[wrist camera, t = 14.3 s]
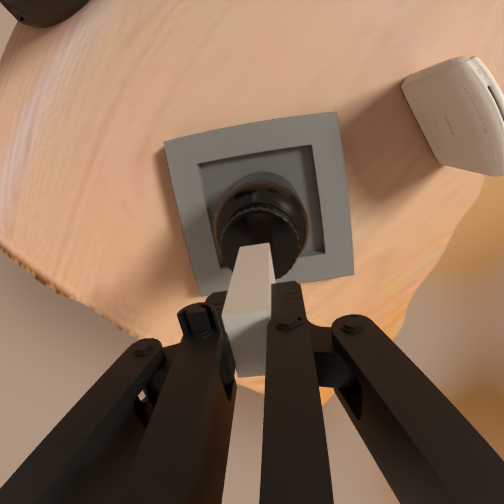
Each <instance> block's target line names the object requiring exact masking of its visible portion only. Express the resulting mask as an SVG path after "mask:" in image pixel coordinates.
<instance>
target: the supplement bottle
mask: <svg viewBox="0 0 504 504" xmlns="http://www.w3.org/2000/svg"><path fill="white" fill-rule="evenodd" d="M214 236H215V241H216V244H217V246H218V248H219V250H220V252H221V255H222V256H223V258H224V262H225V263H226V264H227V267H228V268H229V269H230V270H231V271H232V273H233V270H234V267H235V263H236V259H237V256H238V252H239V248H240V247H243V246H250V245H257V244H263V243H269V245H270V251H271V257H272V263H273V269H274V275H275V280H276V279H280V278H282V276H283V275H286V274H287V273H288V271H289V270H291V269H292V267H293V265H294V264H295V263H296V260H297V259H298V258H299V257H300V255H301V254H302V252H303V251H304V249H305V247H306V244H307V241H308V237H309V221H308V216H307V213H306V210H305V208H304V206H303V204H302V202H301V200H300V198H299V196H298V194H297V192H296V190H295V189H294V187H293V186H292V185H291V183H290V182H289V181H288V180H286V179H285V178H284V177H282V176H280V175H278V174H276V173H272V172H266V171H260V172H254V173H251V174H248V175H246V176H245V177H243V178H241V179H240V180H239V181H238V182H237V183H236V184H235V185H234V186H233V188H232V189H231V190H230V192H229V193H228V194H227V196H226V197H225V198H224V200H223V201H222V203H221V204H220V206H219V208H218V210H217V213H216V216H215V220H214Z"/></svg>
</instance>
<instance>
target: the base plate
mask: <svg viewBox="0 0 504 504" xmlns="http://www.w3.org/2000/svg"><path fill="white" fill-rule="evenodd" d="M164 147H165V152H166V157H167V162H168V167H169V172H170V176H171V181H172V185H173V190H174V194H175V199H176V203H177V207H178V212H179V216H180V220H181V224H182V229H183V233H184V237H185V241H186V245H187V249H188V253H189V257H190V261H191V264H192V268H193V272H194V276H195V280H196V283H197V287H198V291H199V294H200V296H208V295H211V294H212V293H213V292H220V291H228V289H229V285H230V282H231V278H232V274H233V273H232V271H231V270H230V269H229V268H228V267H227V264H226V263H225V262H224V258H223V256H222V255H221V252H220V250H219V248H218V246H217V244H216V241H215V236H214V220H215V216H216V213H217V210H218V208H219V206H220V204H221V203H222V201H223V200H224V198H225V197H226V196H227V194H228V193H229V192H230V190H231V189H232V188H233V186H234V185H235V184H236V183H237V182H238V181H239V180H240V179H241V178H243V177H245V176H246V175H248V174H251V173H254V172H260V171H266V172H272V173H276V174H278V175H280V176H282V177H284V178H285V179H286V180H288V181H289V182H290V183H291V185H292V186H293V187H294V189H295V190H296V192H297V194H298V196H299V198H300V200H301V202H302V204H303V206H304V208H305V210H306V213H307V216H308V221H309V237H308V241H307V244H306V247H305V249H304V251H303V252H302V254H301V255H300V257H299V258H298V259H297V260H296V263H295V264H294V265H293V267H292V269H291V270H289V271H288V273H287V274H286V275H283V276H282V278H280V279H276V280H275V281H276V283H281V282H288V281H296V282H297V283H298V284H299V283H306V282H312V281H319V280H325V279H332V278H338V277H345V276H351V275H354V259H353V244H352V230H351V218H350V207H349V198H348V188H347V179H346V171H345V163H344V156H343V149H342V142H341V135H340V129H339V122H338V116H337V112H327V113H318V114H309V115H301V116H293V117H286V118H279V119H272V120H266V121H260V122H254V123H248V124H242V125H237V126H232V127H226V128H221V129H217V130H212V131H207V132H203V133H198V134H194V135H189V136H185V137H181V138H177V139H173V140H169V141H165V142H164Z"/></svg>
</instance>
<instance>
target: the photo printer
mask: <svg viewBox="0 0 504 504" xmlns="http://www.w3.org/2000/svg"><path fill="white" fill-rule="evenodd" d="M401 88H402V91H403V93H404V96H405V98H406V100H407V102H408V104H409V106H410V108H411V110H412V112H413V114H414V116H415V118H416V120H417V122H418V124H419V125H420V127H421V129H422V132H423V133H424V135H425V137H426V139H427V141H428V143H429V145H430V147H431V149H432V151H433V154H434V155H435V157H436V159H437V160H438V162H439V163H440V164H442V165H446V166H450V167H455V168H459V169H463V170H468V171H472V172H476V173H480V174H484V175H488V176H504V95H503V93H502V91H501V89H500V87H499V86H498V84H497V82H496V81H495V79H494V77H493V76H492V74H491V73H490V71H489V70H488V69H487V67H486V66H485V65H484V64H483V63H482V61H481V60H480V59H479V58H478V57H477V56H474V57H470V58H468V57H456V58H452V59H449V60H446V61H444V62H441V63H439V64H436V65H433V66H431V67H428V68H426V69H423V70H421V71H418V72H416V73H414V74H411V75H409V76H408V77H406V78H405V80H404V82H403V84H402V85H401Z"/></svg>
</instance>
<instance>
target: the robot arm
mask: <svg viewBox="0 0 504 504" xmlns="http://www.w3.org/2000/svg"><path fill="white" fill-rule="evenodd" d="M88 1H89V0H0V3H2V5H3V6H4V7H5V8H6V9H7V10H8V11H9V12H10V13H11V14H12V15H13V16H14V17H15V18H16V19H17V20H18V21H19V22H21V23H22V24H25V25H28V26H31V27H35V28H45V27H49V26H52V25H55V24H57V23H59V22H61V21H63V20H65V19H67V18H68V17H70V16H71V15H72V14H74V13H75V12H76V11H78V10H79V9H80V8H81V7H82V6H84V5H85V4H86V3H87V2H88ZM177 317H178V320H179V323H180V326H181V329H182V332H183V337H182V340H181V342H180V343H178V344H175V345H171V346H167V347H162V344H161V342H160V341H159V340H157V339H154V338H146V339H141V340H139V341H137V342H135V343H133V344H132V345H131V346H130V347H129V348H127V350H126V351H125V352H124V353H123V354H122V355H121V356H120V357H119V358H118V359H117V360H116V361H115V362H114V363H113V364H112V366H111V367H110V368H109V369H108V370H107V371H106V372H105V373H104V374H103V375H102V376H101V377H100V378H99V379H98V381H97V382H96V383H95V384H94V385H93V386H92V387H91V388H90V389H89V390H88V391H87V392H86V393H85V394H84V396H83V397H82V398H81V399H80V400H79V401H78V402H77V403H76V404H75V406H74V407H73V408H72V409H71V410H70V411H69V412H68V413H67V414H66V415H65V417H63V418H62V420H61V421H60V422H59V423H58V424H57V425H56V426H55V427H54V428H53V430H52V431H51V432H50V433H49V434H48V435H47V436H46V438H44V440H43V441H42V442H41V443H40V444H39V445H38V446H37V447H36V449H35V450H34V451H33V452H32V453H31V454H30V455H29V456H28V458H27V459H26V460H25V461H24V462H23V463H22V465H20V467H19V468H18V469H17V470H16V471H15V472H14V473H13V475H12V476H11V477H10V478H9V479H8V481H7V482H6V483H5V484H4V485H3V486H2V487H1V489H0V504H221V503H222V495H223V488H224V480H225V473H226V465H227V457H228V450H229V443H230V436H231V428H232V420H233V413H234V405H235V398H236V390H237V385H236V381H235V377H234V374H235V368H236V371H237V375H238V378H239V377H251V376H262V375H265V398H264V422H263V443H262V465H261V484H260V500H259V504H334V501H333V491H332V483H331V474H330V466H329V458H328V450H327V442H326V434H325V427H324V419H323V412H322V405H321V399H320V392H319V386H320V387H331V388H334V391H335V394H336V395H337V397H338V399H339V400H340V402H341V404H342V405H343V407H344V409H345V410H346V412H347V414H348V416H349V417H350V419H351V421H352V422H353V424H354V426H355V428H356V429H357V431H358V433H359V434H360V436H361V438H362V439H363V441H364V443H365V445H366V446H367V448H368V450H369V451H370V453H371V455H372V456H373V458H374V460H375V462H376V463H377V465H378V466H379V468H380V470H381V472H382V473H383V475H384V477H385V478H386V480H387V482H388V484H389V485H390V487H391V489H392V490H393V492H394V494H395V496H396V497H397V499H398V501H399V502H400V504H504V461H503V460H502V459H501V458H500V457H499V455H498V454H497V453H496V452H495V451H494V449H493V448H492V447H491V446H490V445H489V444H488V443H487V442H486V440H485V439H484V438H483V437H482V436H481V435H480V434H479V433H478V431H477V430H476V429H475V428H474V427H473V426H472V425H471V424H470V423H469V422H468V421H467V419H466V418H465V417H464V416H463V415H462V414H461V413H460V412H459V411H458V410H457V409H456V407H455V406H454V405H453V404H452V403H451V402H450V401H449V400H448V399H447V398H446V397H445V396H444V394H442V392H441V391H440V390H439V389H438V388H437V387H436V386H435V385H434V384H433V383H432V382H431V381H430V380H429V379H428V378H427V376H426V375H424V373H423V372H422V371H421V370H420V369H419V368H418V367H417V366H416V365H415V364H414V363H413V362H412V361H411V360H410V359H409V358H408V357H407V356H406V355H405V354H404V353H403V352H402V351H401V350H400V348H399V347H398V346H397V345H396V344H395V343H394V342H393V341H392V340H391V339H390V338H389V337H388V336H387V335H386V334H385V333H384V332H383V331H382V330H381V329H380V328H379V327H378V326H377V325H376V324H375V323H374V322H373V321H372V320H371V319H369V318H368V317H366V316H362V315H357V314H351V315H346V316H342V317H340V318H338V319H336V320H335V321H334V322H333V323H332V326H331V327H320V326H317V325H314V324H312V323H310V322H309V321H308V320H307V317H306V312H305V307H304V301H303V296H302V291H301V285H300V284H298V283H297V282H296V281H288V282H281V283H276V281H275V275H274V269H273V263H272V257H271V251H270V245H269V243H263V244H257V245H250V246H243V247H240V248H239V252H238V256H237V259H236V263H235V267H234V270H233V274H232V278H231V282H230V285H229V289H228V291H220V292H213V293H212V294H211V295H210V296H209V297H208V298H207V299H206V301H205V302H199V303H195V304H191V305H188V306H186V307H184V308H183V309H181V310H180V311H179V312H178V313H177ZM142 390H143V392H144V394H145V396H146V397H145V398H144V399H143V400H142V401H141V400H140V399H139V397H138V395H139V394H140V392H141V391H142Z"/></svg>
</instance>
